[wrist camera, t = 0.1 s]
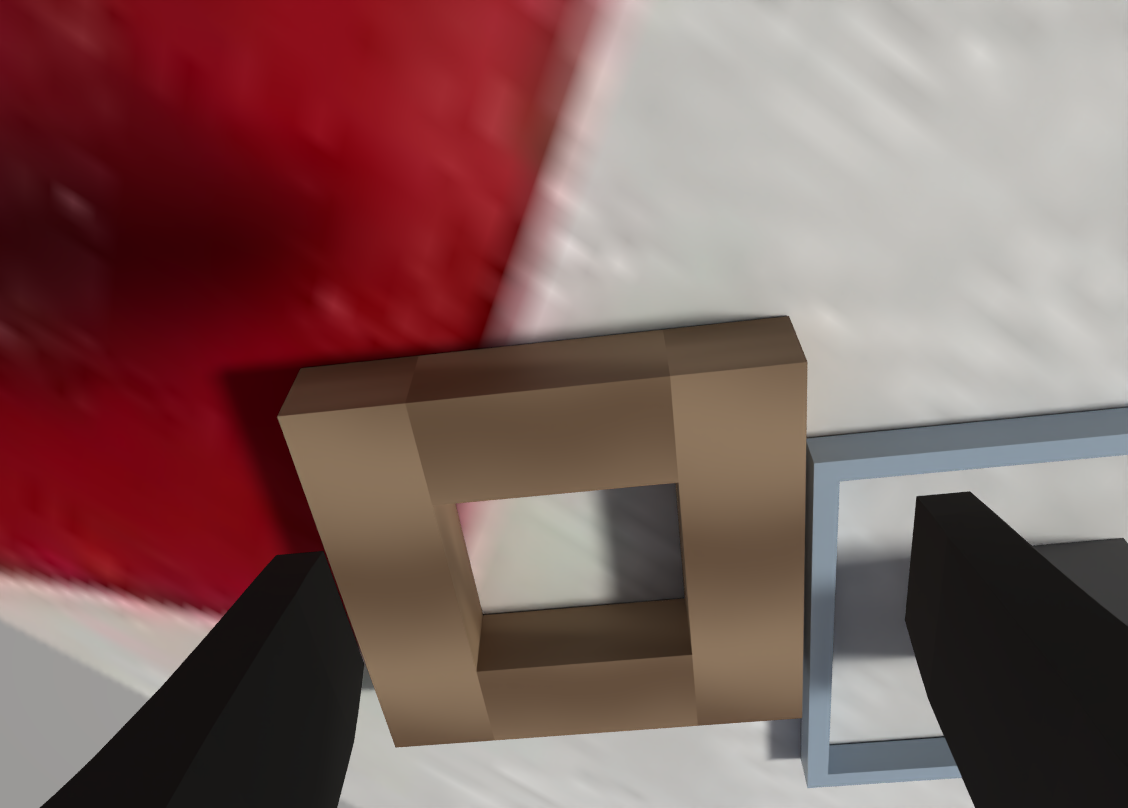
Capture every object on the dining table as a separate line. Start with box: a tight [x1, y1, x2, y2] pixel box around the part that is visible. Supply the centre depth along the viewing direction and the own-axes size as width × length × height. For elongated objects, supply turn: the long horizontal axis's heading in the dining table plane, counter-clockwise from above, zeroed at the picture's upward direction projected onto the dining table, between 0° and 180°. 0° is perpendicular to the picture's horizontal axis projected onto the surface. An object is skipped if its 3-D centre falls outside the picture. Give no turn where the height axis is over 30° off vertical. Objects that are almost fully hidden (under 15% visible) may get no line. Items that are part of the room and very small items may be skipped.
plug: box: [1033, 538, 1128, 626], centre depth 23 cm, size 4×4×6 cm
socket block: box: [277, 316, 807, 747], centre depth 23 cm, size 11×11×2 cm
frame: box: [801, 408, 1128, 788], centre depth 25 cm, size 12×12×1 cm
